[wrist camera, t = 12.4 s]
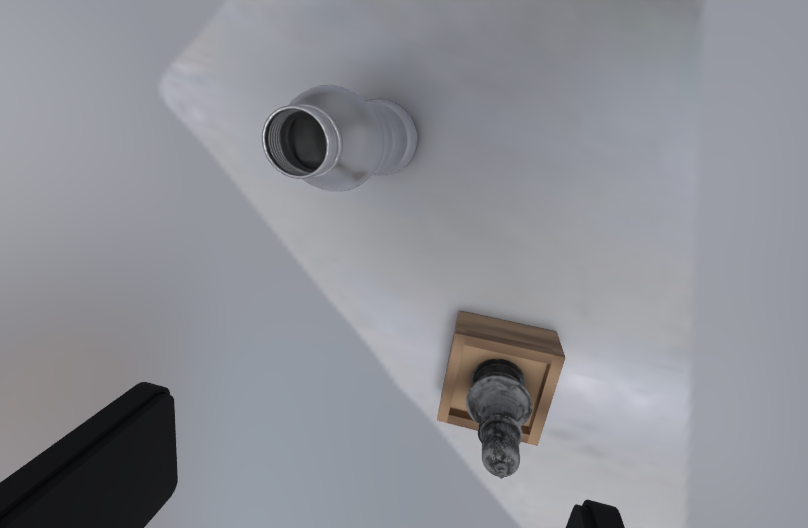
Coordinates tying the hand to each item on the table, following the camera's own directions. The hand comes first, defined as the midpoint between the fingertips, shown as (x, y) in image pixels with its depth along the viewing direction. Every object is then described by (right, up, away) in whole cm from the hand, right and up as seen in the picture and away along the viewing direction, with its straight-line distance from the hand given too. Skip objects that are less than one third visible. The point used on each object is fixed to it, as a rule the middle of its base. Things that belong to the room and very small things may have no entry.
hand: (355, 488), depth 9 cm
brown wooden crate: (+11, -6, +35) cm, 37 cm away
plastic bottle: (-1, +17, +31) cm, 35 cm away
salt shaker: (+10, -7, +32) cm, 34 cm away
